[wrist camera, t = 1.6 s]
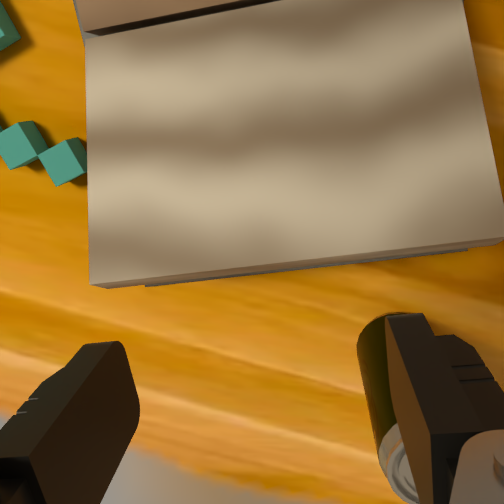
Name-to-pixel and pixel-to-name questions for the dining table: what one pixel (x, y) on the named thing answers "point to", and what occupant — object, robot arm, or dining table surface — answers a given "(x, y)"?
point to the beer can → (384, 409)
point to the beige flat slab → (286, 140)
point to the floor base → (160, 12)
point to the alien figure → (37, 134)
